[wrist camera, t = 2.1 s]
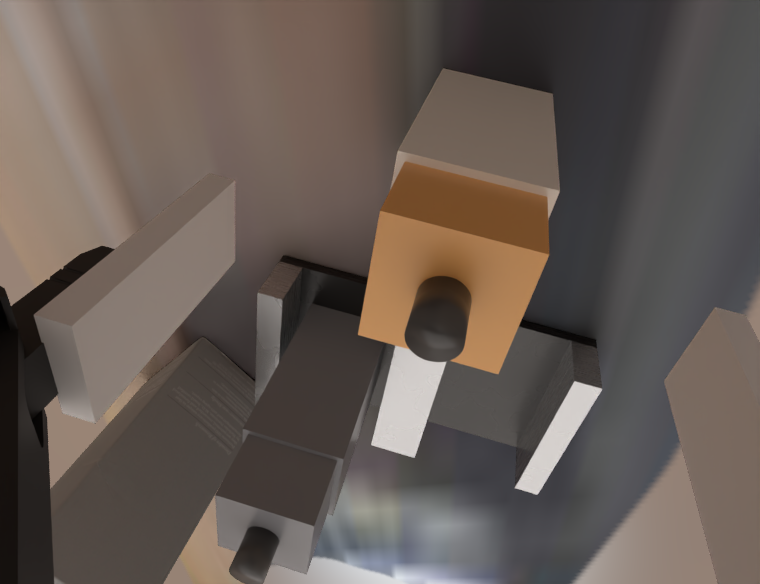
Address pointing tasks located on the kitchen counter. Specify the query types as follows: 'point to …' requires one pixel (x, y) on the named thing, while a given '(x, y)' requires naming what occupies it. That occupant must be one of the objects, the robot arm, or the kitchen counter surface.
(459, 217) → the plug
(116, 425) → the skincare box
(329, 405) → the twin plug
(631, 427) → the kitchen counter surface
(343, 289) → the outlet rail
